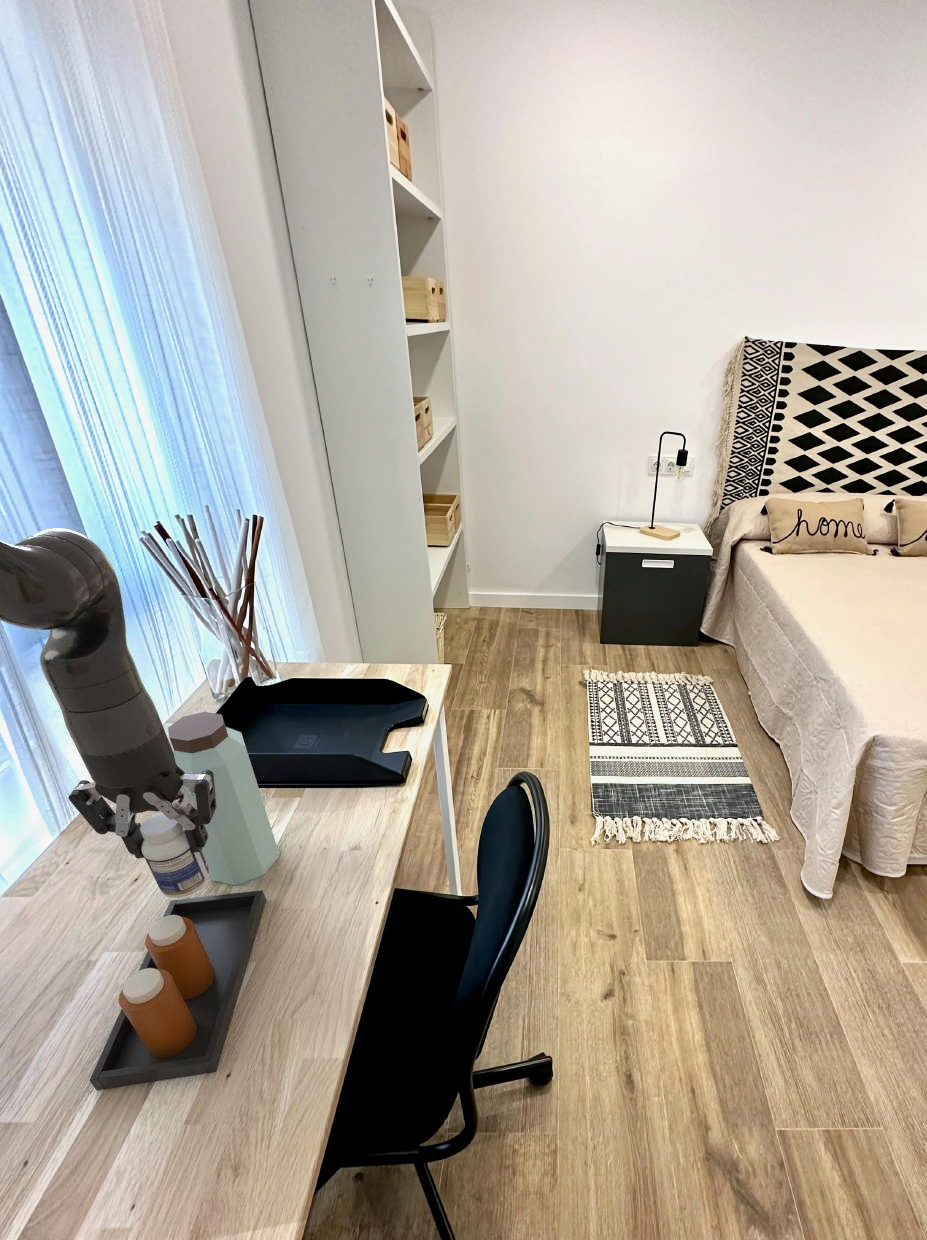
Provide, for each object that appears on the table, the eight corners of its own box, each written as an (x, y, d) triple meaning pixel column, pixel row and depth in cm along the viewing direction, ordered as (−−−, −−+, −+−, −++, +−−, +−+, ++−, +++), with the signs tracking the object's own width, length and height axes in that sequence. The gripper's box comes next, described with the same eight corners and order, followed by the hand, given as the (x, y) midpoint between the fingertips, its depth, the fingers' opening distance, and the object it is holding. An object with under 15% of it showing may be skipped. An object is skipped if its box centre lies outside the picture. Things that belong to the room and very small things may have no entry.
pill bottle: (172, 867, 79) (145, 808, 73) (217, 864, 79) (194, 805, 74) (152, 901, 74) (122, 841, 69) (200, 898, 75) (174, 838, 70)
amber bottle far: (141, 1062, 68) (105, 1007, 63) (157, 1020, 72) (125, 965, 67) (189, 1055, 69) (158, 1000, 64) (202, 1014, 73) (174, 959, 67)
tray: (100, 1095, 66) (88, 1080, 65) (177, 915, 86) (170, 900, 84) (218, 1077, 68) (210, 1062, 67) (268, 904, 88) (262, 890, 86)
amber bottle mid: (164, 1003, 74) (133, 947, 69) (178, 967, 78) (150, 912, 72) (208, 997, 75) (181, 941, 69) (220, 962, 79) (195, 907, 73)
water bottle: (258, 832, 99) (213, 697, 86) (296, 860, 95) (255, 722, 81) (194, 870, 92) (135, 729, 79) (232, 902, 88) (176, 759, 74)
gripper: (205, 707, 69) (245, 822, 78) (59, 717, 67) (117, 834, 76) (182, 747, 63) (228, 867, 72) (20, 759, 60) (89, 881, 70)
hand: (171, 849), depth 74 cm, fingers closed on pill bottle, 5 cm apart
